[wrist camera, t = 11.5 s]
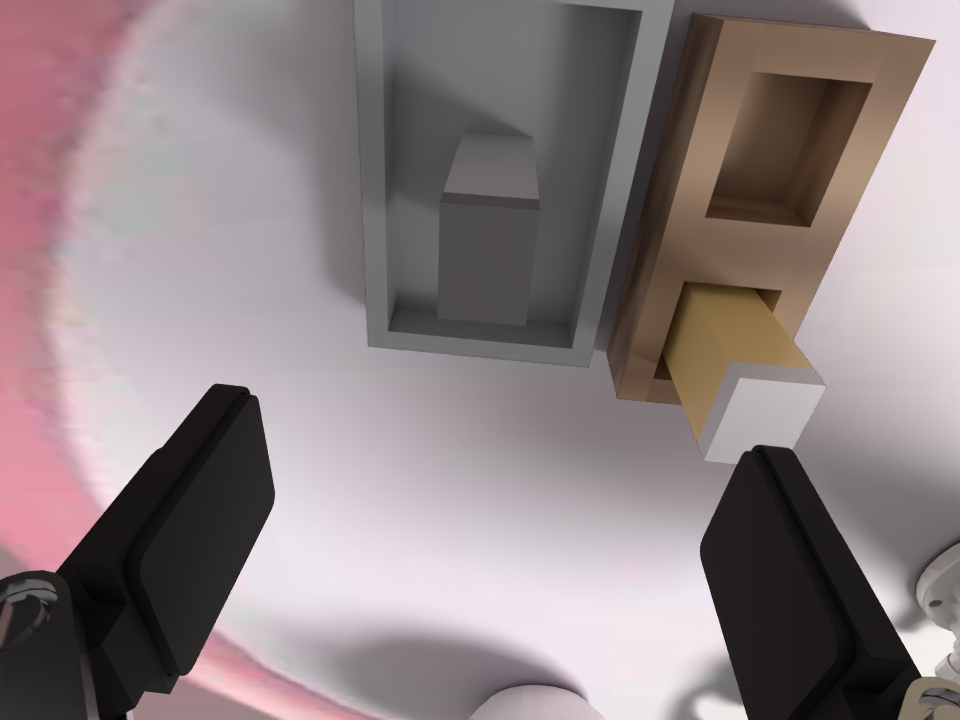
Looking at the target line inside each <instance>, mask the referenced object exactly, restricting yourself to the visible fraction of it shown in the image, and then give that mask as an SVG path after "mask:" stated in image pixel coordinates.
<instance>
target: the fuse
mask: <svg viewBox="0 0 960 720" xmlns="http://www.w3.org/2000/svg"><path fill="white" fill-rule="evenodd" d="M662 354H663V356H664V359H665V361H666V364H667V366H668V369H669V372H670V374H671V377H672V379H673V382H674V385H675V387H676V390H677V392H678V395H679V398H680V400H681V403H682V405H683V408H684V411H685V413H686V416H687V418H688V421H689V424H690V426H691V429H692V431H693V434H694V437H695V439H696V442H697V444H698V447H699V450H700V452H701V455H702V457H703V460H704V461H708V462H718V463H728V464H738V462H739V460H740V457H741V455H742V454H743V453H744V452H745V451H751V450H752V448H753V447H754V446H755V445H769V446H778V447H786V448H790V449H793V447H794V445H795V444H796V442H797V440H798V438H799V436H800V435H801V433H802V431H803V429H804V427H805V425H806V424H807V422H808V420H809V418H810V416H811V415H812V413H813V411H814V409H815V407H816V405H817V404H818V402H819V400H820V398H821V396H822V395H823V393H824V391H825V389H826V387H827V385H826V384H825V383H824V381H823V380H822V379H821V377H820V376H819V375H818V373H817V372H816V371H815V369H814V368H813V367H812V365H811V364H810V363H809V361H808V360H807V359H806V357H805V356H804V355H803V353H802V352H801V351H800V349H799V348H798V347H797V346H796V344H795V343H794V342H793V340H792V339H791V338H790V336H789V335H788V334H787V332H786V331H785V330H784V328H783V327H782V326H781V324H780V323H779V322H778V320H777V319H776V318H775V316H774V315H773V314H772V312H771V311H770V310H769V308H768V307H767V306H766V304H765V303H764V302H763V300H762V299H761V298H760V296H759V295H758V294H757V292H756V291H755V290H754V288H751V287H741V286H730V285H720V284H709V283H699V282H689V281H684V283H683V287H682V290H681V293H680V296H679V299H678V302H677V305H676V308H675V312H674V315H673V318H672V321H671V324H670V327H669V330H668V333H667V336H666V340H665V343H664V346H663V349H662Z"/></svg>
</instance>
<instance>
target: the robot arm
mask: <svg viewBox="0 0 960 720" xmlns="http://www.w3.org/2000/svg"><path fill="white" fill-rule="evenodd" d="M274 499H275V489H274V484H273V478H272V472H271V467H270V461H269V456H268V450H267V445H266V439H265V434H264V428H263V422H262V417H261V411H260V406H259V401H258V398H257V397H256V396H255V395H250V391H249V390H248V388H247V387H243V386H234V385H225V384H214V385H213V386H212V387H211V388H210V389H209V390H208V391H207V392H206V394H205V395H204V396H203V397H202V399H201V400H200V401H199V402H198V404H197V405H196V406H195V407H194V409H193V410H192V411H191V412H190V414H189V415H188V416H187V417H186V419H185V420H184V421H183V422H182V423H181V425H180V426H179V427H178V428H177V430H176V431H175V432H174V433H173V435H172V436H171V437H170V438H169V440H168V441H167V442H166V443H165V445H164V446H163V447H162V448H159V449H157V450H156V451H155V452H154V453H153V454H152V455H151V456H150V457H149V458H148V459H147V461H146V462H145V463H144V464H143V466H142V467H141V468H140V469H139V470H138V472H137V473H136V474H135V475H134V477H133V478H132V479H131V480H130V481H129V483H128V484H127V485H126V486H125V488H124V489H123V490H122V491H121V493H120V494H119V495H118V496H117V497H116V499H115V500H114V501H113V502H112V504H111V505H110V506H109V507H108V508H107V510H106V511H105V512H104V513H103V515H102V516H101V517H100V518H99V520H98V521H97V522H96V523H95V524H94V526H93V527H92V528H91V529H90V531H89V532H88V533H87V534H86V535H85V537H84V538H83V539H82V540H81V542H80V543H79V544H78V545H77V547H76V548H75V549H74V550H73V551H72V553H71V554H70V555H69V556H68V558H67V559H66V560H65V561H64V563H63V564H62V565H61V566H60V567H59V569H58V570H57V571H56V572H55V573H54V572H49V571H44V570H37V571H25V572H22V573H18V574H15V575H11V576H8V577H5V578H3V579H1V580H0V720H134V719H133V713H132V709H133V708H135V707H136V705H137V704H138V702H139V700H140V698H141V696H142V695H143V693H144V691H148V692H156V693H164V694H170V693H171V691H172V689H173V687H174V685H175V683H176V681H177V679H178V677H179V676H180V675H181V676H185V675H187V674H188V673H189V672H190V671H191V670H192V668H193V666H194V664H195V662H196V660H197V658H198V656H199V654H200V652H201V650H202V648H203V646H204V644H205V642H206V640H207V638H208V636H209V634H210V632H211V630H212V628H213V626H214V624H215V622H216V620H217V618H218V616H219V614H220V612H221V610H222V608H223V606H224V604H225V602H226V600H227V598H228V596H229V594H230V592H231V590H232V588H233V586H234V584H235V582H236V580H237V578H238V576H239V574H240V572H241V570H242V568H243V566H244V564H245V562H246V560H247V558H248V556H249V554H250V552H251V550H252V548H253V546H254V544H255V542H256V540H257V538H258V536H259V534H260V532H261V530H262V528H263V526H264V524H265V522H266V520H267V518H268V516H269V514H270V512H271V510H272V507H273V504H274ZM700 557H701V562H702V565H703V568H704V572H705V575H706V579H707V582H708V585H709V589H710V592H711V596H712V599H713V602H714V606H715V609H716V612H717V616H718V619H719V623H720V626H721V629H722V633H723V636H724V639H725V643H726V646H727V650H728V653H729V656H730V660H731V663H732V667H733V670H734V673H735V677H736V680H737V683H738V687H739V690H740V694H741V697H742V700H743V704H744V707H745V710H746V714H747V717H748V720H960V542H959V543H958V544H956V545H954V546H952V547H951V548H949V549H948V550H946V551H945V552H944V553H942V554H941V555H939V556H938V557H937V558H936V559H935V560H934V561H933V562H932V563H931V564H930V565H929V566H928V567H927V568H926V570H925V571H924V572H923V574H922V575H921V577H920V579H919V581H918V584H917V587H916V598H917V600H918V603H919V605H920V607H921V608H922V610H923V611H924V612H925V614H926V615H927V617H928V618H929V619H930V620H931V621H932V622H934V623H935V624H936V625H938V626H940V627H942V628H944V629H946V630H949V631H952V632H953V633H954V635H955V636H956V638H957V640H956V641H955V642H954V647H953V648H954V650H955V651H954V652H953V653H950V654H949V655H948V656H947V657H945V658H944V659H943V660H942V661H941V662H940V663H939V664H938V665H937V666H936V667H935V674H936V676H937V677H922V676H921V674H920V673H919V671H918V669H917V667H916V666H915V664H914V662H913V660H912V659H911V657H910V655H909V653H908V651H907V650H906V648H905V646H904V644H903V643H902V641H901V639H900V637H899V636H898V634H897V632H896V630H895V628H894V627H893V625H892V623H891V621H890V620H889V618H888V616H887V614H886V613H885V611H884V609H883V607H882V606H881V604H880V602H879V600H878V598H877V597H876V595H875V593H874V591H873V590H872V588H871V586H870V584H869V583H868V581H867V579H866V577H865V575H864V574H863V572H862V570H861V568H860V567H859V565H858V563H857V561H856V560H855V558H854V556H853V554H852V553H851V551H850V549H849V547H848V545H847V544H846V542H845V540H844V538H843V537H842V535H841V534H840V532H839V531H838V529H837V527H836V525H835V524H834V522H833V520H832V518H831V517H830V515H829V513H828V511H827V510H826V508H825V506H824V504H823V502H822V501H821V499H820V497H819V495H818V494H817V492H816V490H815V488H814V486H813V485H812V483H811V481H810V479H809V478H808V476H807V474H806V472H805V471H804V469H803V467H802V465H801V463H800V462H799V460H798V458H797V456H796V455H795V453H794V452H793V451H792V449H790V448H786V447H778V446H769V445H755V446H754V447H753V448H752V450H751V451H745V452H744V453H743V454H742V455H741V457H740V460H739V462H738V464H737V466H736V468H735V470H734V472H733V474H732V477H731V479H730V481H729V483H728V485H727V487H726V489H725V492H724V494H723V496H722V498H721V500H720V502H719V504H718V507H717V509H716V511H715V513H714V515H713V517H712V519H711V521H710V524H709V526H708V528H707V530H706V532H705V534H704V536H703V539H702V541H701V545H700Z"/></svg>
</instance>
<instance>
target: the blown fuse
mask: <svg viewBox="0 0 960 720" xmlns="http://www.w3.org/2000/svg"><path fill="white" fill-rule="evenodd" d="M539 218H540V202H539V192H538V182H537V173H536V163H535V153H534V143H533V137H520V136H507V135H494V134H481V133H469V132H463V134H462V137H461V140H460V143H459V146H458V149H457V152H456V155H455V158H454V161H453V164H452V167H451V170H450V173H449V176H448V179H447V182H446V185H445V188H444V191H443V194H442V197H441V200H440V213H439V262H438V311H437V319H449V320H461V321H473V322H486V323H498V324H511V325H523V326H526V320H527V312H528V305H529V297H530V289H531V281H532V273H533V265H534V257H535V249H536V241H537V233H538V226H539Z"/></svg>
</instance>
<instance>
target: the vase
mask: <svg viewBox="0 0 960 720" xmlns="http://www.w3.org/2000/svg"><path fill="white" fill-rule="evenodd" d="M469 720H605V719H604V717H603V716H602V715H601V714H600V713H599V712H598V711H597V710H595V709H594V708H593V707H592V706H591V705H590V704H589V703H588V702H587V701H585V700H584V699H583V698H581V697H580V696H579V695H577V694H575V693H573V692H571V691H568V690H565V689H561V688H558V687H553V686H544V685H524V686H517V687H511V688H508V689H505V690H502V691H500V692H498V693H496V694H494V695H493V696H491V697H490V698H489V699H488V700H487V701H486V702H485V703H484V704H483V705H481V706H480V707H479V708H478V709H477V710H476V711H475V712H474V714H473V715H472V716H471V717H470V719H469Z"/></svg>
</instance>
